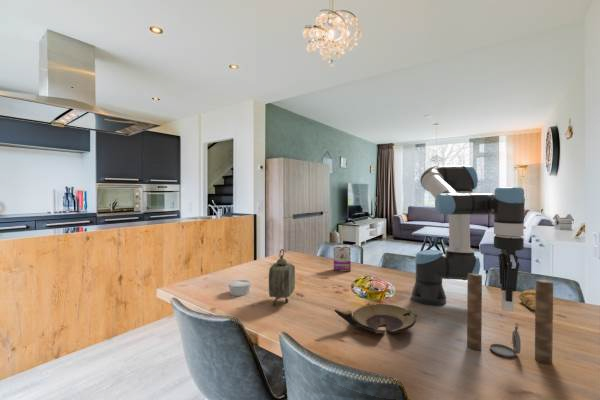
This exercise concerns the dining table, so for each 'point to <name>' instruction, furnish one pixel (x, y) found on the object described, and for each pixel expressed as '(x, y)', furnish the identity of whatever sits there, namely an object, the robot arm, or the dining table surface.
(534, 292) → the croissant
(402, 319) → the oil lamp
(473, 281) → the post left
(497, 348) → the pocket watch
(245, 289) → the ramekin
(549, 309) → the post right
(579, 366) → the dining table surface
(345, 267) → the candy bar box
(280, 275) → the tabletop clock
